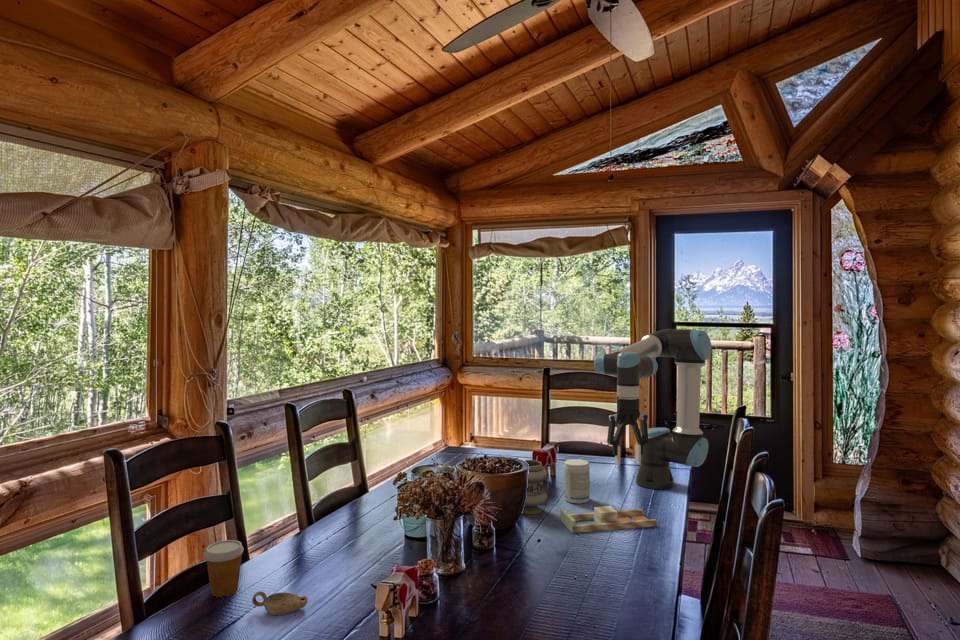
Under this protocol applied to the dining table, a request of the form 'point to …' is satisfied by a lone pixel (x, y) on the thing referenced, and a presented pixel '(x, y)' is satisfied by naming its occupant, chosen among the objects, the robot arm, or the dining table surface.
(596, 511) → the birch block
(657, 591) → the dining table surface
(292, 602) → the oil lamp
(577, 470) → the supplement tub
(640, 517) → the trap pads
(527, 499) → the apothecary jar
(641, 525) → the channel rails
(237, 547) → the disposable coffee cup
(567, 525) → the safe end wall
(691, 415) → the robot arm
